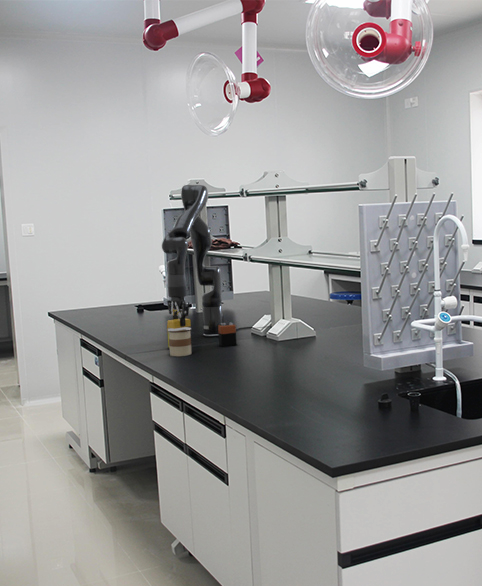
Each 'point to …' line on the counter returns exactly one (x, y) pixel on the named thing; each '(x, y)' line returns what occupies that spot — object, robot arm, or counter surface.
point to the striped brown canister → (180, 341)
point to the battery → (227, 334)
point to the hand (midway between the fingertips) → (179, 325)
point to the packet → (178, 323)
